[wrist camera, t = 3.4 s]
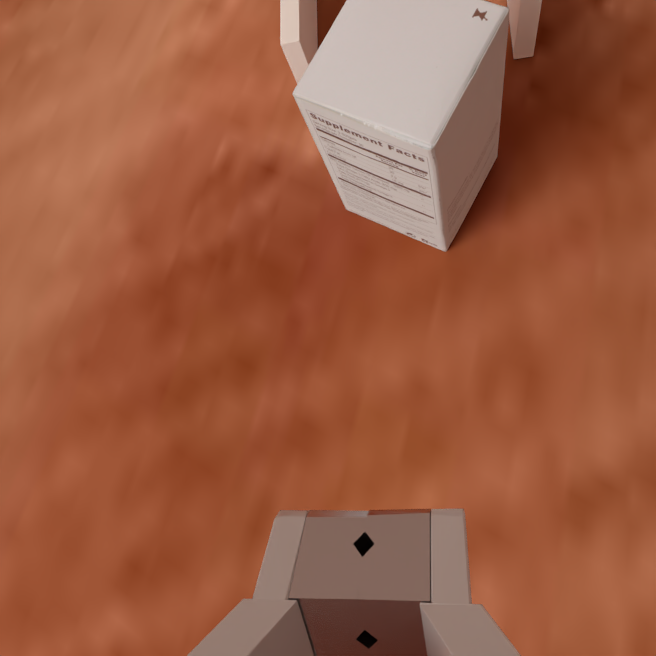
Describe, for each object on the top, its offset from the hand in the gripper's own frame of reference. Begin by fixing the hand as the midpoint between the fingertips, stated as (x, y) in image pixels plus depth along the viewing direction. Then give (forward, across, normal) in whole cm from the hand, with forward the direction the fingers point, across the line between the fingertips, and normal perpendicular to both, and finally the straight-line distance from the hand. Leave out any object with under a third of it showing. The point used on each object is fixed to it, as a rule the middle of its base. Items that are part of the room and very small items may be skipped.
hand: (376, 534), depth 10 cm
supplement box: (+31, 0, +4) cm, 31 cm away
